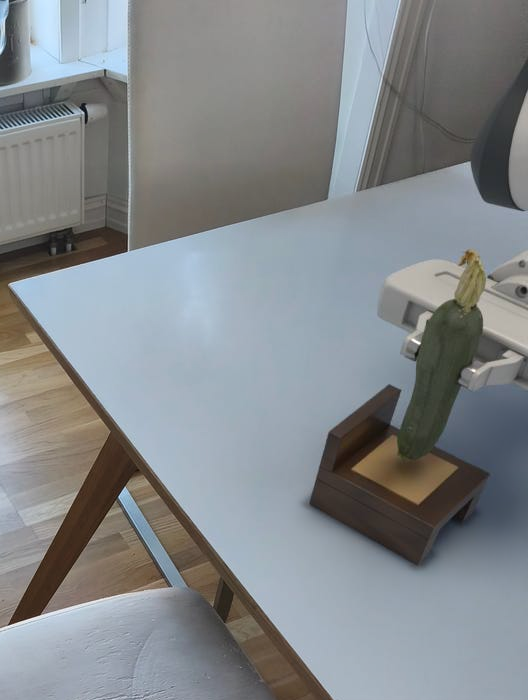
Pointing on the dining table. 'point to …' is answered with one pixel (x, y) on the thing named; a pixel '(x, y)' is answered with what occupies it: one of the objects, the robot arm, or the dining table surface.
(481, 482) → the wooden toy chair
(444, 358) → the vegetable
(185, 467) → the dining table surface
